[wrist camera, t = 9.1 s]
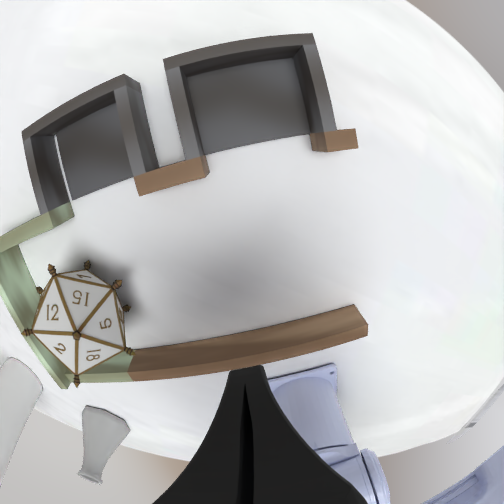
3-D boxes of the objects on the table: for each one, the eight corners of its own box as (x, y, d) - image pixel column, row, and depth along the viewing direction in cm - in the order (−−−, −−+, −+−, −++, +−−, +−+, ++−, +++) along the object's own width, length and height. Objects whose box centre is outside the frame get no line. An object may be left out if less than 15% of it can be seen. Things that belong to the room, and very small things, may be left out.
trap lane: (354, 315, 22) (372, 343, 19) (74, 363, 23) (61, 388, 19) (316, 47, 14) (337, 27, 10) (-10, 170, 14) (-38, 178, 11)
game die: (126, 289, 24) (124, 394, 19) (45, 272, 19) (32, 380, 14) (151, 243, 18) (148, 393, 13) (38, 215, 13) (6, 370, 8)
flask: (85, 422, 28) (68, 475, 18) (80, 398, 25) (56, 458, 16) (130, 439, 29) (119, 494, 20) (131, 417, 27) (116, 483, 17)
